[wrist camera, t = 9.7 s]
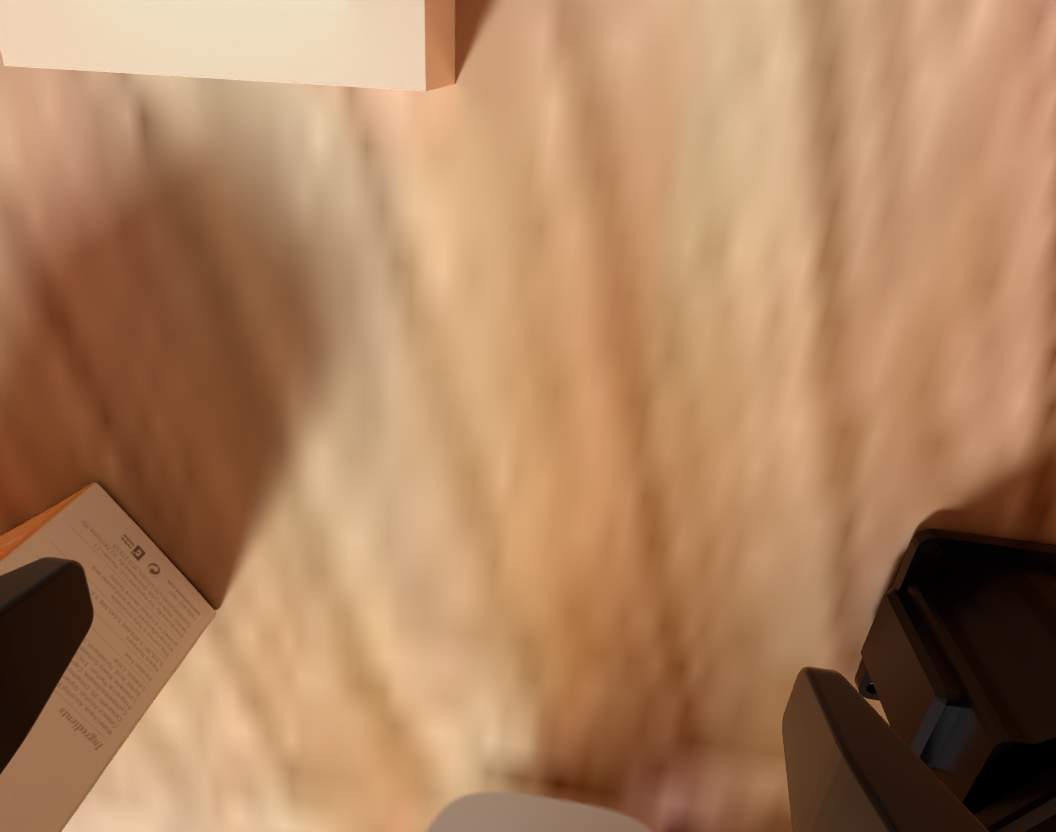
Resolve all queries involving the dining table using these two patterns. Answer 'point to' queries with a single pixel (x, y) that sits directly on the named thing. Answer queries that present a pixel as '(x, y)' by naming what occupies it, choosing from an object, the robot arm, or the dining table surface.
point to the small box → (97, 654)
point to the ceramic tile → (240, 39)
